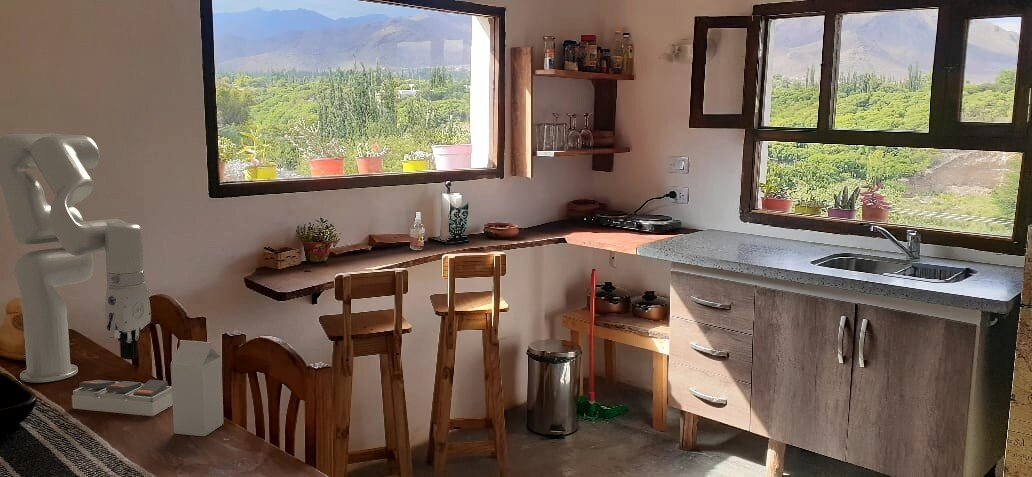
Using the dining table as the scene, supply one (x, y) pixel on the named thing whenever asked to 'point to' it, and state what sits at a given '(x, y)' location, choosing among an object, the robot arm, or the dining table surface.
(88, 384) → the rocker
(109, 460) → the dining table surface
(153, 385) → the rocker
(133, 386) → the rocker
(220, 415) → the milk carton
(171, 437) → the dining table surface
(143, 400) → the rocker switch box
